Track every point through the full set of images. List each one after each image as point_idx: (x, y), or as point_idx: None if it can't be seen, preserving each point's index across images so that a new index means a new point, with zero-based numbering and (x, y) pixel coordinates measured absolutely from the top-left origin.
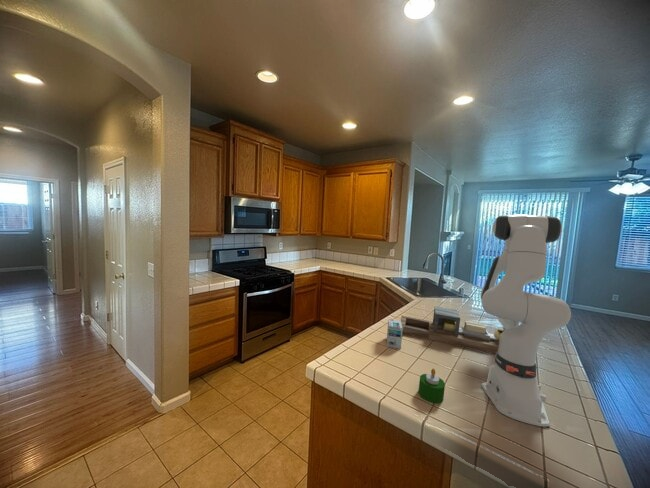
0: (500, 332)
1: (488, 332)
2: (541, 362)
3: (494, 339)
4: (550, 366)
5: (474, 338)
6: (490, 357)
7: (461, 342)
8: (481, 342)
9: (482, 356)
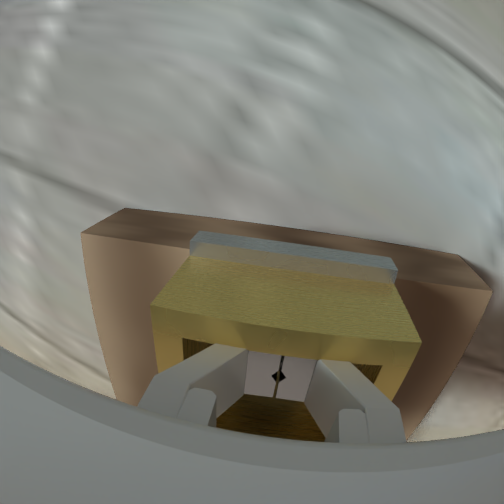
0: None
1: (105, 355)
2: (463, 29)
3: None
4: (495, 9)
5: None
6: (460, 391)
7: None
8: None
9: (449, 419)
